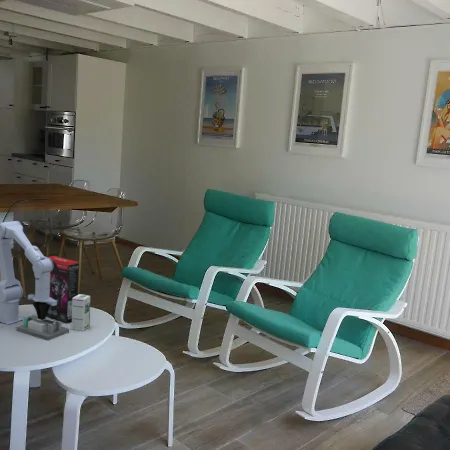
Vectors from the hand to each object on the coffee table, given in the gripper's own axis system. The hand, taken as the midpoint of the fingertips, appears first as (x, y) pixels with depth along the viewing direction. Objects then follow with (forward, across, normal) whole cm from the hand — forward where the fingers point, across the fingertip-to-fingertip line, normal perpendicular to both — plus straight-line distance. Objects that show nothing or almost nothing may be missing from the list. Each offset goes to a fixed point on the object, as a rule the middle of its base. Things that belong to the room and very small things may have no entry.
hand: (41, 318), depth 221 cm
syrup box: (+6, +10, +13) cm, 17 cm away
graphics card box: (+6, -7, +17) cm, 19 cm away
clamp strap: (+2, +1, 0) cm, 2 cm away
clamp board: (+6, 0, 0) cm, 6 cm away
